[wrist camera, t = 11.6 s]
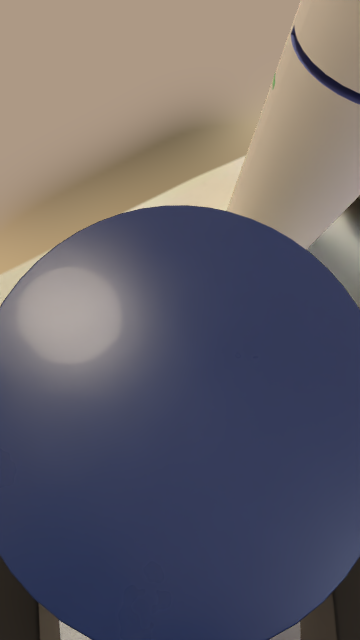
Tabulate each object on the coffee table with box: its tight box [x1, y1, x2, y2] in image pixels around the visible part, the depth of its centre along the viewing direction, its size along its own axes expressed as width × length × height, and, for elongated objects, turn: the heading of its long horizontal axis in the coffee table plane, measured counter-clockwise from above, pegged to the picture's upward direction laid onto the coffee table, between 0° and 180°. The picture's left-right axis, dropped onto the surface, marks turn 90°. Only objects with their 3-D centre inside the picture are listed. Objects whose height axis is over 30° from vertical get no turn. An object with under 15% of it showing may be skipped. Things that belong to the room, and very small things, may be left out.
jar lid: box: [0, 205, 360, 640], centre depth 6 cm, size 8×8×2 cm
